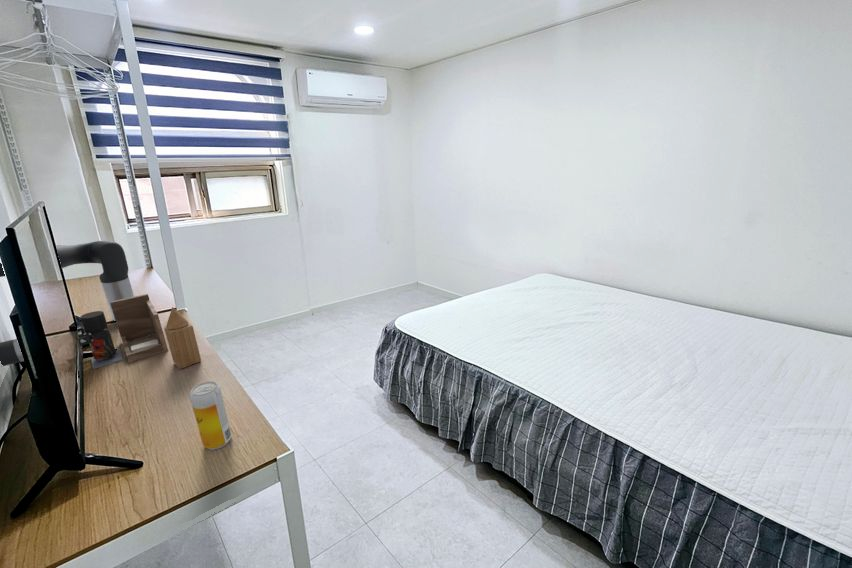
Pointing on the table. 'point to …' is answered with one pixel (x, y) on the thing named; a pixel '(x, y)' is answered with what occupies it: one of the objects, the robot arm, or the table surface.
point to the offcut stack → (144, 345)
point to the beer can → (210, 415)
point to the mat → (107, 360)
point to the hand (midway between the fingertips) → (106, 329)
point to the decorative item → (181, 340)
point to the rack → (138, 324)
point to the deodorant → (99, 346)
